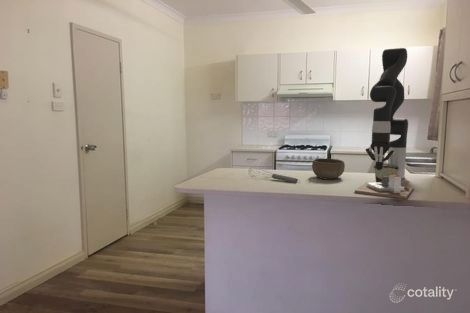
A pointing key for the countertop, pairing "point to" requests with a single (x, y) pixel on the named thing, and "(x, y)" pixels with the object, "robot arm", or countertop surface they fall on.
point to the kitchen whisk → (279, 177)
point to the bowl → (328, 168)
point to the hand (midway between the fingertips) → (379, 169)
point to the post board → (385, 179)
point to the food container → (385, 171)
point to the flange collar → (392, 187)
